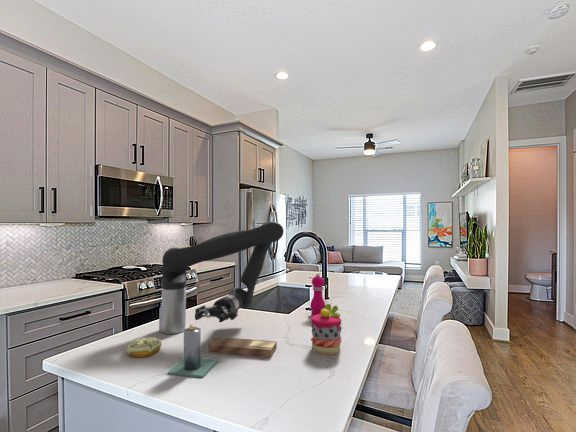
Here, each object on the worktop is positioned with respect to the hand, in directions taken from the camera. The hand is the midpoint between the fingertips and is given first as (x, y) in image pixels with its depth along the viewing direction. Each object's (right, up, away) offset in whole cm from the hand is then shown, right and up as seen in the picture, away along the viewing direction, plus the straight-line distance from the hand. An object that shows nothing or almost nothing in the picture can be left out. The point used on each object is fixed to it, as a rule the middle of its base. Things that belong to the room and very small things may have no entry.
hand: (208, 318), depth 110 cm
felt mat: (-2, -12, -11) cm, 16 cm away
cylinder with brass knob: (-2, -11, -12) cm, 16 cm away
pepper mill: (+41, -13, +47) cm, 64 cm away
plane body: (+11, -12, +3) cm, 17 cm away
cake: (+40, -13, +5) cm, 42 cm away
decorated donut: (-22, -12, +1) cm, 25 cm away
